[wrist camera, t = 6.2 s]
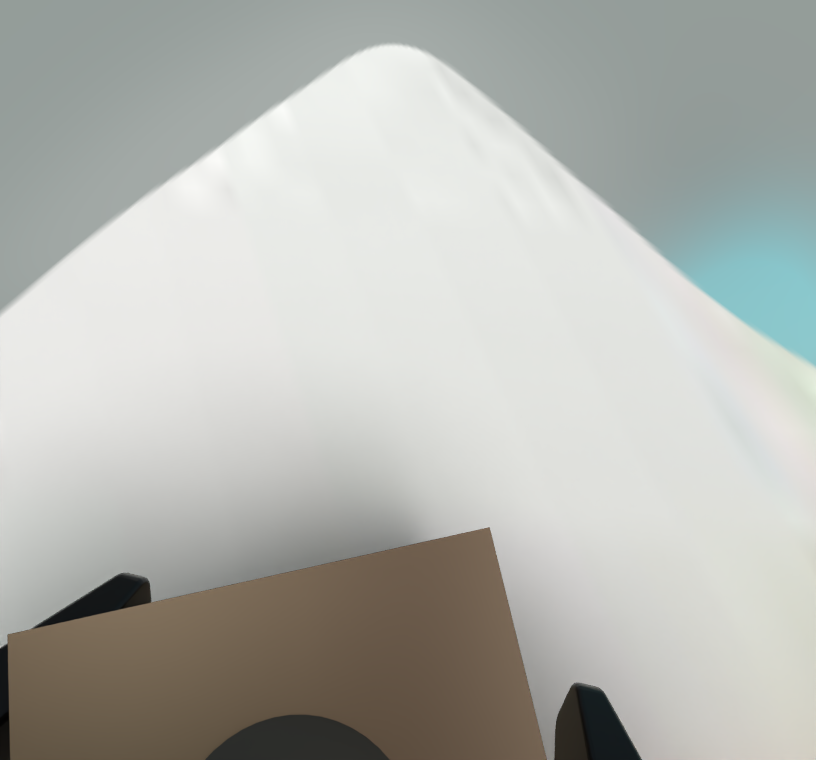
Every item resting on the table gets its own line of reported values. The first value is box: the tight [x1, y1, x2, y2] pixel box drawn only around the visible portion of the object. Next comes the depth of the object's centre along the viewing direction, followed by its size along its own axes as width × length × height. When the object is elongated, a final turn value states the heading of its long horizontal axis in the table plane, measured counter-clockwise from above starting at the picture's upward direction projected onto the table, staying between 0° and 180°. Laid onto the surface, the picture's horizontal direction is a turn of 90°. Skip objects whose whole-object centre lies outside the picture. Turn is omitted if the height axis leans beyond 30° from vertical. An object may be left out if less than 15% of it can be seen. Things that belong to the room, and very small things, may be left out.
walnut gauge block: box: [8, 527, 547, 760], centre depth 10 cm, size 5×5×10 cm
